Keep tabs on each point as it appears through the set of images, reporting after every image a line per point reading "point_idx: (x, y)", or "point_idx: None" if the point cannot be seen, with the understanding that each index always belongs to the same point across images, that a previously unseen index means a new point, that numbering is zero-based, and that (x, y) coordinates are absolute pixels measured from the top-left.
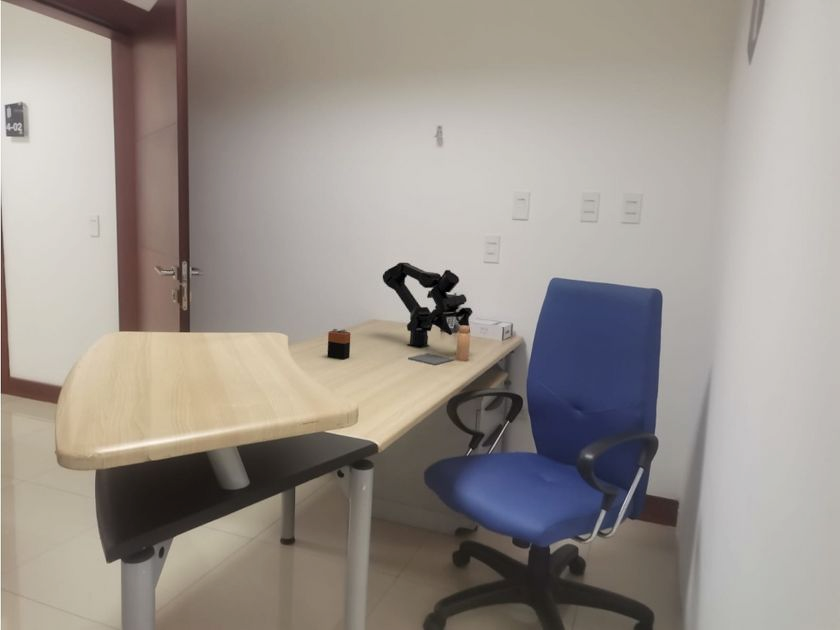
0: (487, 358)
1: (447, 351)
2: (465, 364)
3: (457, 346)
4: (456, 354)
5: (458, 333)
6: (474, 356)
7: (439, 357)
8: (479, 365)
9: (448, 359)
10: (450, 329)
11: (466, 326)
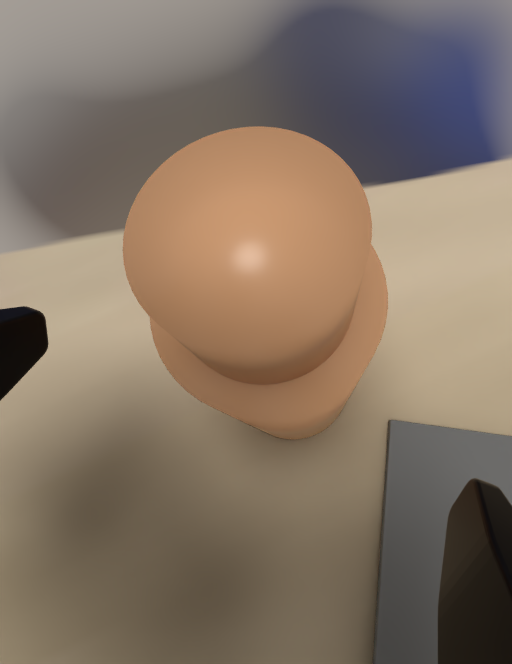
0: (112, 255)
1: (60, 659)
2: (442, 283)
3: (343, 405)
4: (328, 424)
5: (361, 374)
6: (108, 357)
7: None
8: (381, 197)
9: (452, 453)
10: (505, 552)
11: (264, 176)
